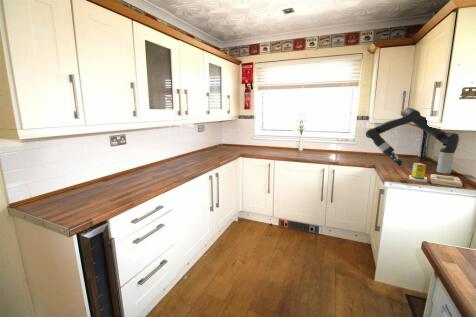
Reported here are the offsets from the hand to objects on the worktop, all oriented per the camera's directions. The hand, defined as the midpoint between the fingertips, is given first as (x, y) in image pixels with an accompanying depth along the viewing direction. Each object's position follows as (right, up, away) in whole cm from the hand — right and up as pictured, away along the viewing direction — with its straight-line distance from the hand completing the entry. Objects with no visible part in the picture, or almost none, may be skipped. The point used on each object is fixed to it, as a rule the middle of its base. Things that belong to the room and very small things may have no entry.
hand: (401, 164), depth 184 cm
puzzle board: (+24, -13, -12) cm, 29 cm away
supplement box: (+9, -10, -5) cm, 15 cm away
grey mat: (+9, -11, -5) cm, 15 cm away
